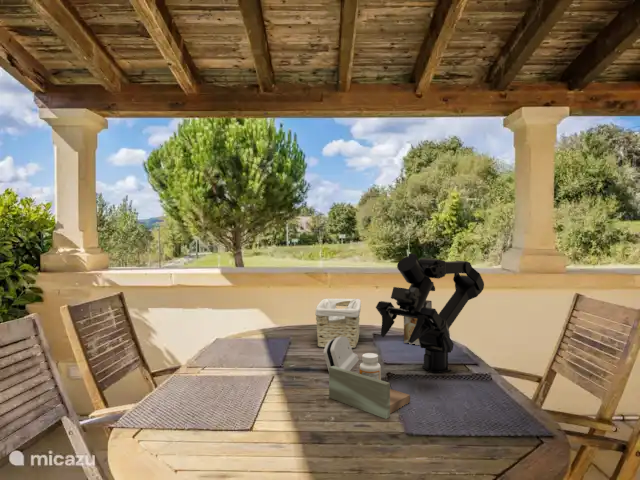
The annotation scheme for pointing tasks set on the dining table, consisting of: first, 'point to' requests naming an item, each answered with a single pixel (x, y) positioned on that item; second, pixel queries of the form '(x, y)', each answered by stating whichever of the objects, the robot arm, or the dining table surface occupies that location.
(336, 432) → the dining table surface
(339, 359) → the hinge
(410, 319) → the coffee box
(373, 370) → the supplement bottle
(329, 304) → the storage basket
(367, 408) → the wall board ledge
